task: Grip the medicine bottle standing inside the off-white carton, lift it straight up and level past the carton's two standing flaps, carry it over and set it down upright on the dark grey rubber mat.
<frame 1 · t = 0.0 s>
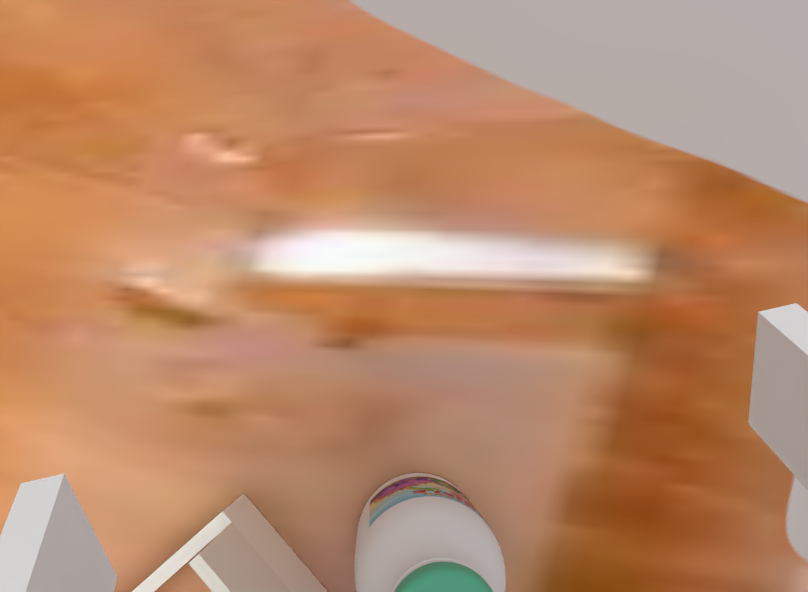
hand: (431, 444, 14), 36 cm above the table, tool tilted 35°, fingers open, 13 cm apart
milk bottle: (417, 531, 49), on the table
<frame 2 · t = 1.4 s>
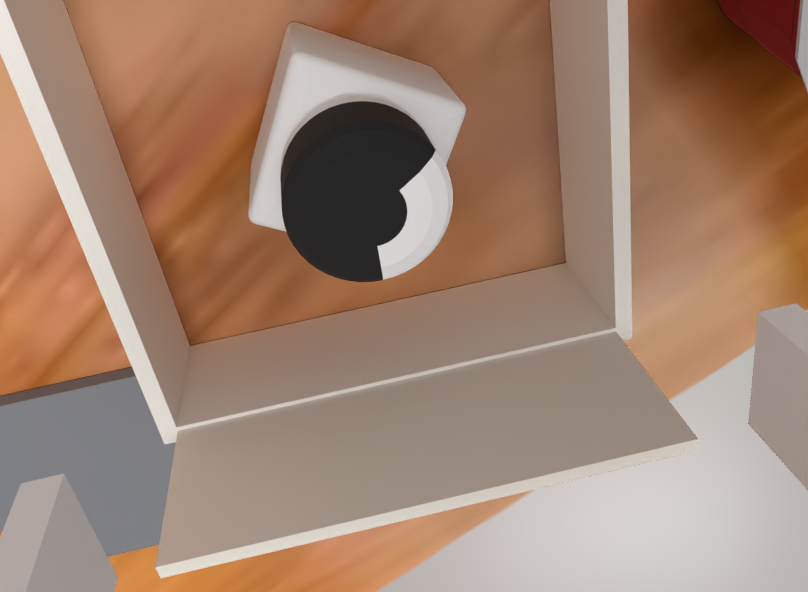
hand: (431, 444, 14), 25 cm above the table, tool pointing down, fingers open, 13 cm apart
carton: (341, 117, 36), on the table
mat: (94, 467, 44), on the table
medicine bottle: (341, 116, 37), resting in carton
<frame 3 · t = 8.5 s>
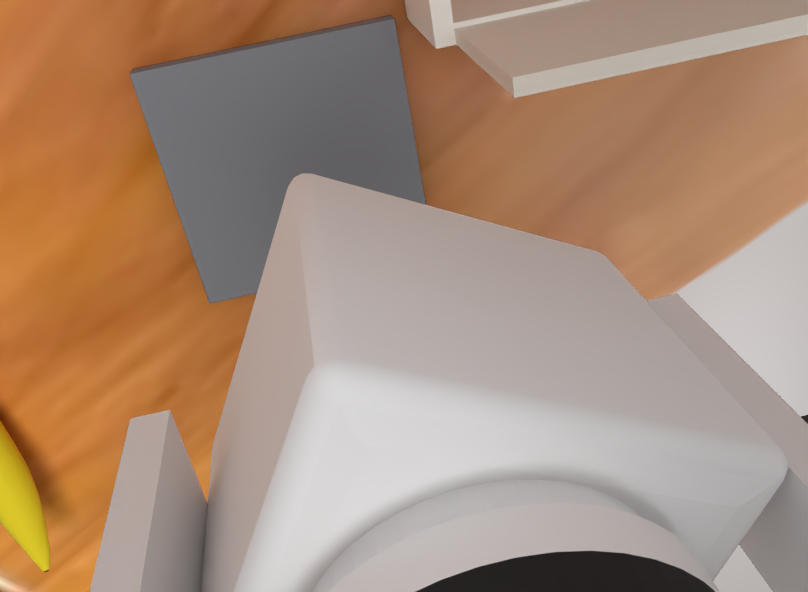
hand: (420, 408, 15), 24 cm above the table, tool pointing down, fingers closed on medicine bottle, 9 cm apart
mat: (294, 164, 38), on the table
medicine bottle: (402, 346, 17), point 22 cm above the table, touching gripper
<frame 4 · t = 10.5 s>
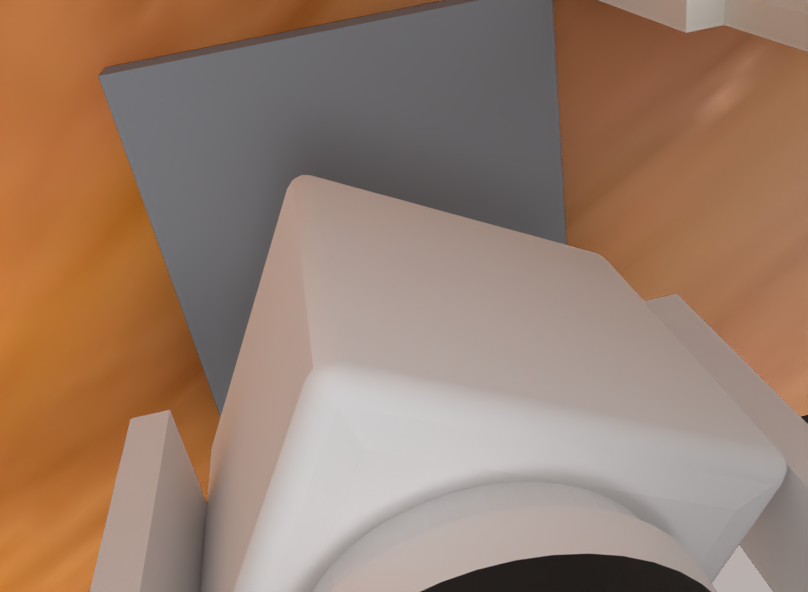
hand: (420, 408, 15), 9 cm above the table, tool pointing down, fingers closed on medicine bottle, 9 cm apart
mat: (366, 223, 24), on the table
medicine bottle: (401, 347, 17), point 7 cm above the table, touching gripper
when the fingers open (5 cm above the table, at t = 12.3 s): medicine bottle drops 2 cm, resting on mat.
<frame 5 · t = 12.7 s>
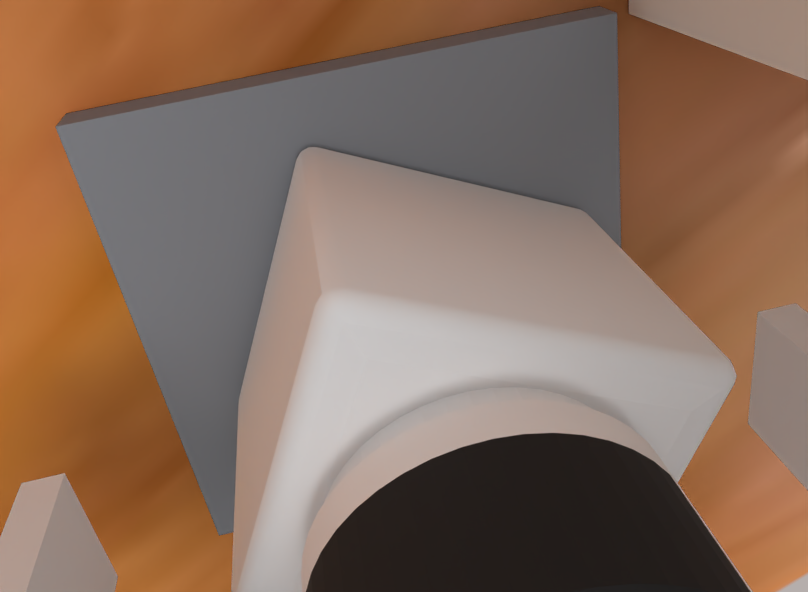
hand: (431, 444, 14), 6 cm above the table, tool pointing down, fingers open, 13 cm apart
mat: (384, 291, 20), on the table
medicine bottle: (406, 303, 19), point 1 cm above the table, touching mat
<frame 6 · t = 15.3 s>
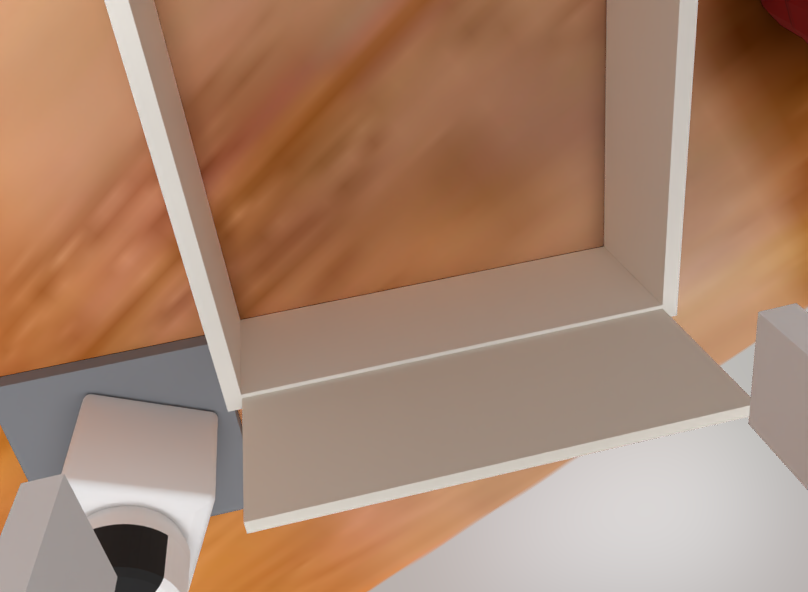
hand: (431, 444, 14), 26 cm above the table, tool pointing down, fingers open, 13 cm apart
carton: (404, 97, 38), on the table
mat: (136, 441, 44), on the table
medicine bottle: (142, 448, 43), point 1 cm above the table, touching mat
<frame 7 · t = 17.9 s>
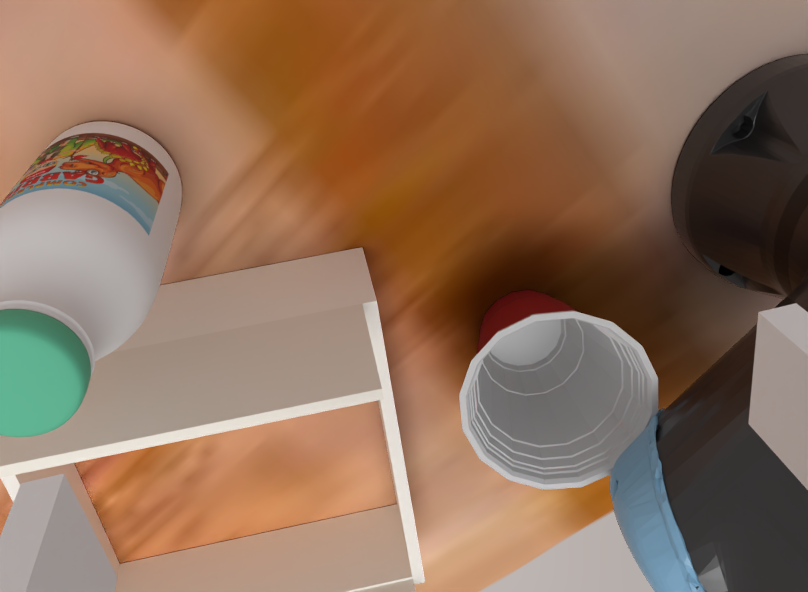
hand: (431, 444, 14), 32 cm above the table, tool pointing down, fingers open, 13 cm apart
carton: (226, 425, 52), on the table
plastic cup: (518, 328, 53), on the table, touching arm
milk bottle: (113, 183, 43), on the table
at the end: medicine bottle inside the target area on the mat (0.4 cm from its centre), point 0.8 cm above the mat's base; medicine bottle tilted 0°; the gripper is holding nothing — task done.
